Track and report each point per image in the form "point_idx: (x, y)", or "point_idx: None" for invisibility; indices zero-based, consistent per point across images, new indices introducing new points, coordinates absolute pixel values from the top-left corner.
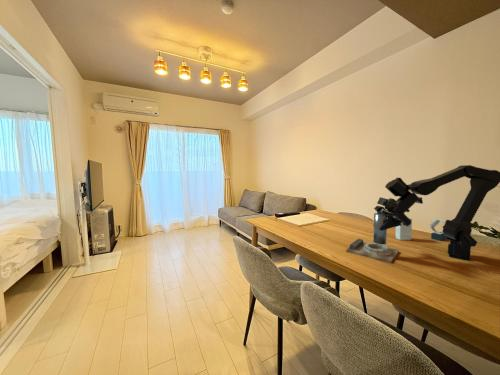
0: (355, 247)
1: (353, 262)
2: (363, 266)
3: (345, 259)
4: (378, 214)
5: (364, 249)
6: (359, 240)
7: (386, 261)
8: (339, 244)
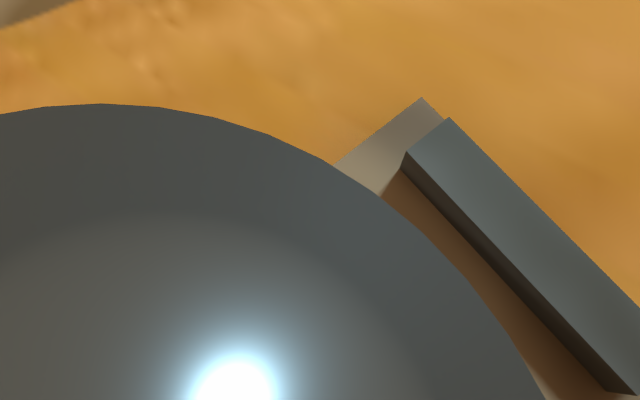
0: (413, 171)
1: (195, 51)
2: (114, 83)
3: (259, 23)
4: (14, 355)
5: None
6: (603, 320)
7: None
8: (621, 140)
